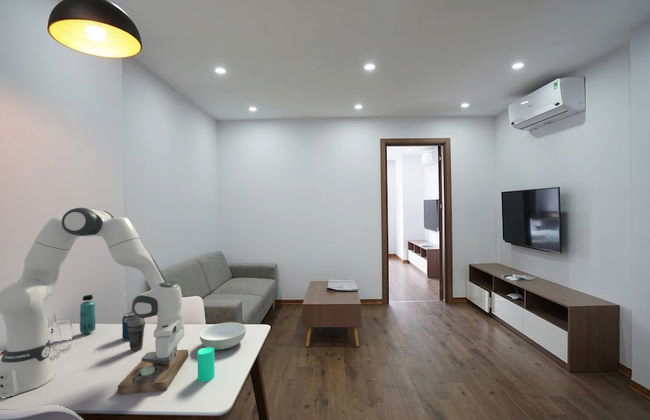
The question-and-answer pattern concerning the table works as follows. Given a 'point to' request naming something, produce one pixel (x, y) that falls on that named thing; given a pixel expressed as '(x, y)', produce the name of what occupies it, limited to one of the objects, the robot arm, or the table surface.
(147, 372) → the button sage
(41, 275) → the robot arm
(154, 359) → the flat grey strip
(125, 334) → the soda can
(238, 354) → the table surface
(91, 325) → the beverage bottle
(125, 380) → the switch panel
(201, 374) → the candle
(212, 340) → the serving bowl
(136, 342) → the beverage cup
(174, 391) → the table surface
